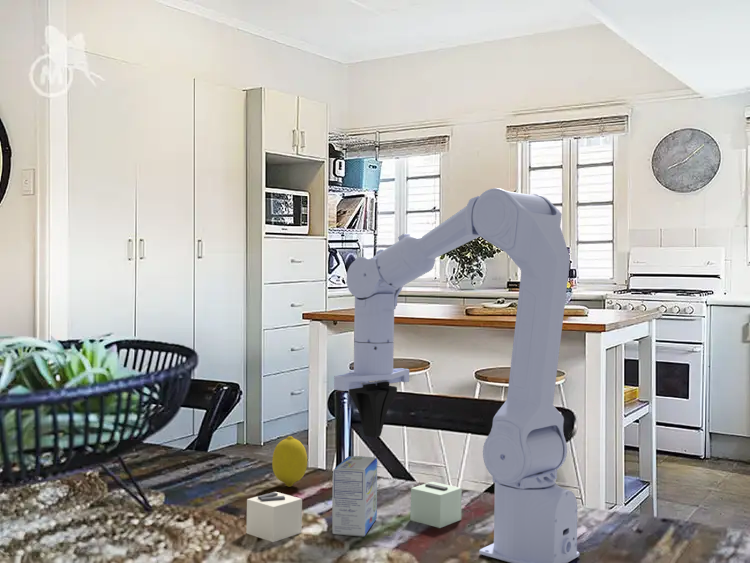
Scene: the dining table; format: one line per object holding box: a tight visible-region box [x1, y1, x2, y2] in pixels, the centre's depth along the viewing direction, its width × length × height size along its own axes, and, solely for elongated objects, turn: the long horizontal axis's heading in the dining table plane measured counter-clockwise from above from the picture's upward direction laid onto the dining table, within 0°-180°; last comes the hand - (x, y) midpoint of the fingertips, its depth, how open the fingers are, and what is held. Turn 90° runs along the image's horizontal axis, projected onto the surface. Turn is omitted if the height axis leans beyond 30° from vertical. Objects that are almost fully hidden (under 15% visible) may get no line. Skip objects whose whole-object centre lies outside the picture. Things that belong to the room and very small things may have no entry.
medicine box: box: [331, 455, 378, 538], centre depth 105 cm, size 8×4×9 cm, turn 168°
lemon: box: [271, 435, 308, 487], centre depth 125 cm, size 6×6×8 cm
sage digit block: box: [409, 481, 463, 529], centre depth 109 cm, size 5×5×5 cm
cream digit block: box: [245, 491, 303, 543], centre depth 102 cm, size 5×5×5 cm
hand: (372, 436), depth 114 cm, fingers closed
